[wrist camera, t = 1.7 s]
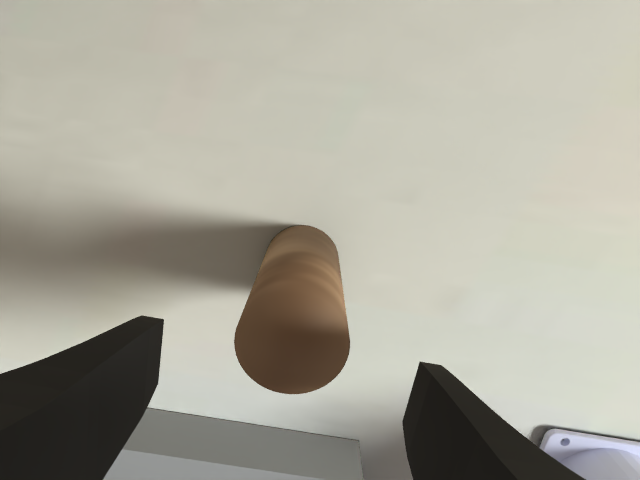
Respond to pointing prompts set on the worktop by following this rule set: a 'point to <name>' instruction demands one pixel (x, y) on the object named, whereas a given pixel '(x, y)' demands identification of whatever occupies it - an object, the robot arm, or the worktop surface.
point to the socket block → (230, 452)
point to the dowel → (295, 315)
